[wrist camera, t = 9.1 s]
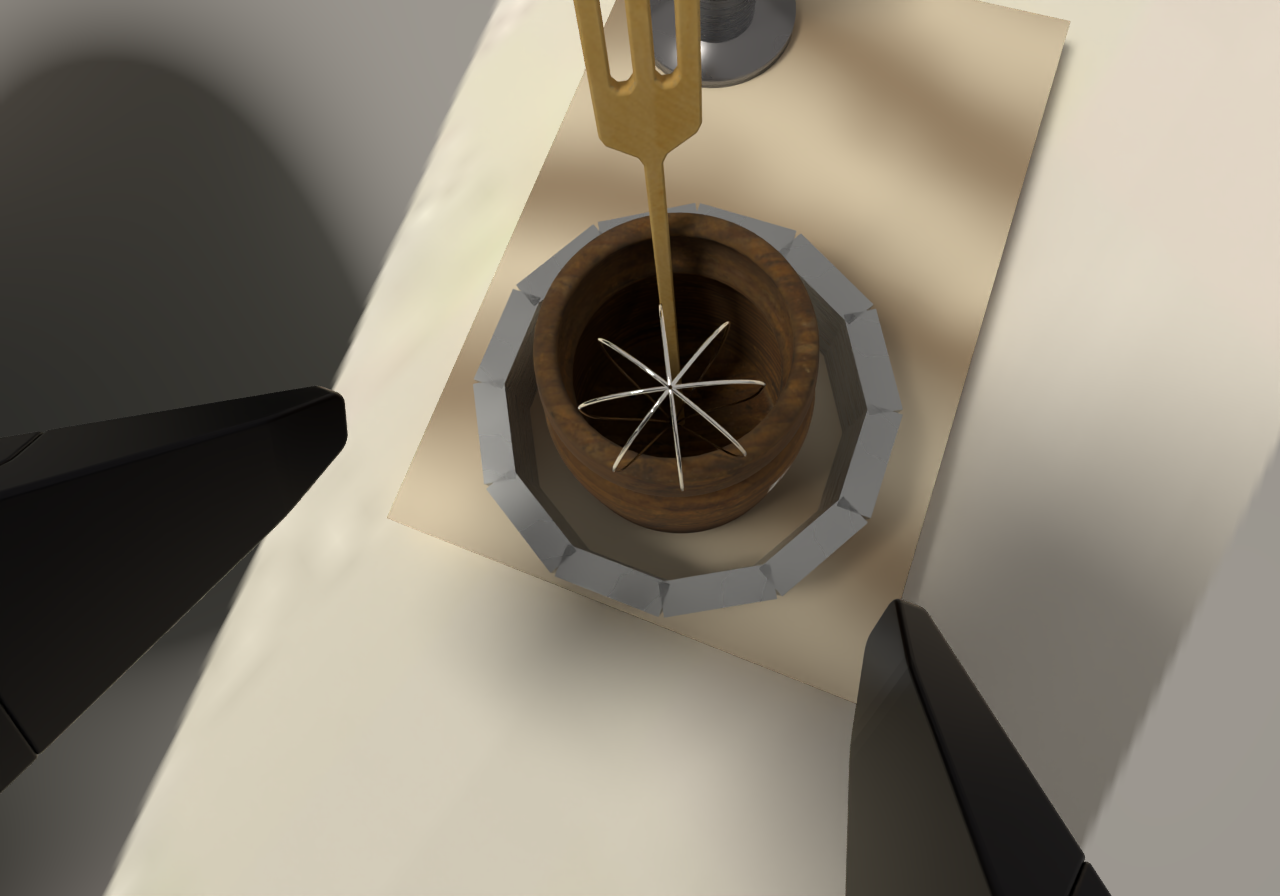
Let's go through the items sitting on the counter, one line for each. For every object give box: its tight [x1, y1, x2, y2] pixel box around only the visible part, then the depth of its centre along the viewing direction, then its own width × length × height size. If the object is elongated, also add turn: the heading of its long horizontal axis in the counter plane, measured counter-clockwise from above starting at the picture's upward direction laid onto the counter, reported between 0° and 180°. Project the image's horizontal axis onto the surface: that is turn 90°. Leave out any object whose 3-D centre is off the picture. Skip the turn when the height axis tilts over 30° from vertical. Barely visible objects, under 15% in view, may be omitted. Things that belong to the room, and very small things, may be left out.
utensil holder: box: [533, 0, 819, 533], centre depth 12 cm, size 6×6×12 cm
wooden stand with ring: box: [387, 0, 1070, 703], centre depth 15 cm, size 22×14×9 cm, turn 159°
